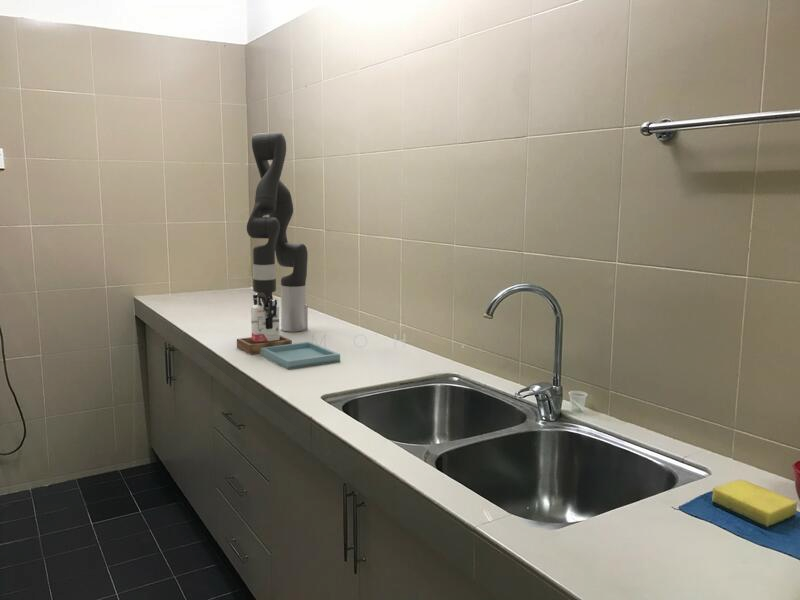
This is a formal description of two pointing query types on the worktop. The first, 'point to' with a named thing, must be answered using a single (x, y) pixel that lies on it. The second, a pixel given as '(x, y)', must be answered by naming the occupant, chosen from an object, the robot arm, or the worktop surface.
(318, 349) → the tray
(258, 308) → the ink box
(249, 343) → the holder
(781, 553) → the worktop surface
